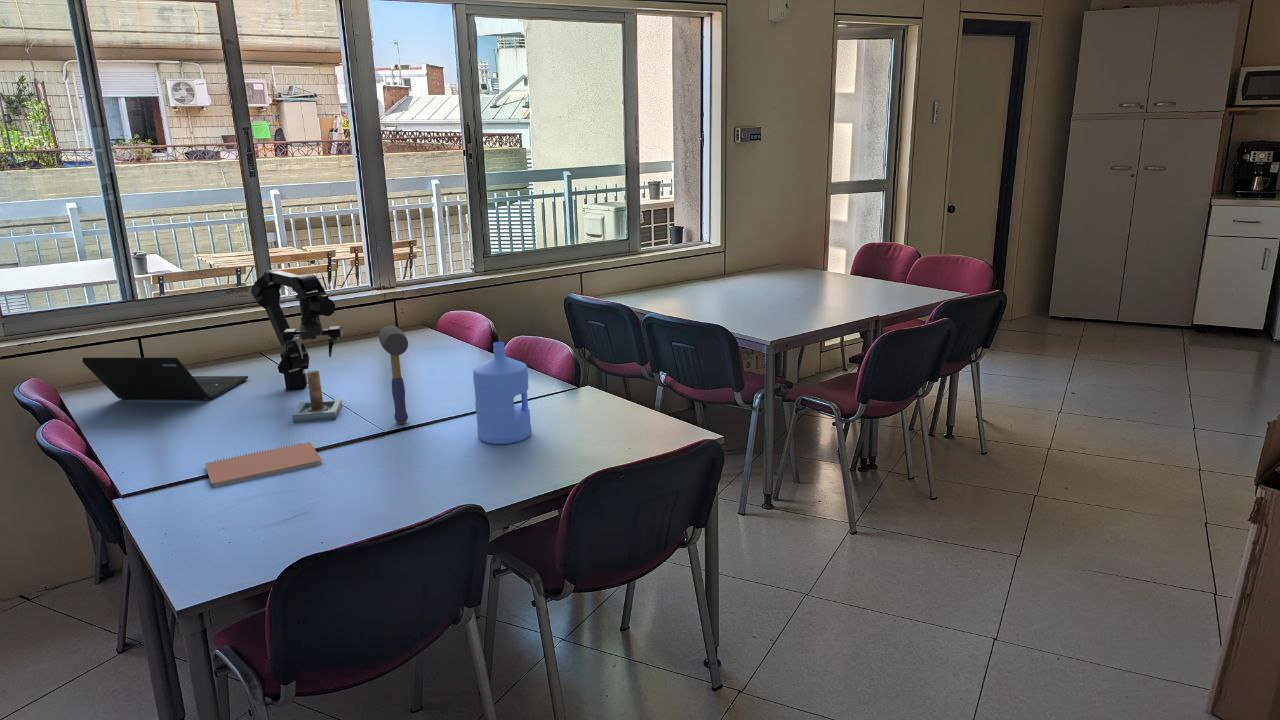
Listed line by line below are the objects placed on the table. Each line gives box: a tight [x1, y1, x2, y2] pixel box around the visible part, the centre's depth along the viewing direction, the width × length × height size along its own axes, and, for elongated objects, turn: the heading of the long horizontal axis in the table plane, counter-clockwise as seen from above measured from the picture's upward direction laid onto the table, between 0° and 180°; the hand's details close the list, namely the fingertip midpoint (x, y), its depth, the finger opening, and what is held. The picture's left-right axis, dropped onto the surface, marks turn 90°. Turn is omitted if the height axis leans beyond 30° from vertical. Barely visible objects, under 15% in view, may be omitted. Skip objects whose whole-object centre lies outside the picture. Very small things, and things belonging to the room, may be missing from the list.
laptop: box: [82, 357, 249, 401], centre depth 286 cm, size 33×38×19 cm
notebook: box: [204, 441, 323, 488], centre depth 228 cm, size 27×17×2 cm, turn 122°
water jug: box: [472, 341, 532, 445], centre depth 242 cm, size 16×16×28 cm
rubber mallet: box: [378, 324, 409, 425], centre depth 254 cm, size 12×8×30 cm, turn 25°
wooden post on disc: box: [306, 370, 328, 412], centre depth 265 cm, size 6×6×13 cm
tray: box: [292, 398, 343, 424], centre depth 267 cm, size 13×13×2 cm
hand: (316, 357), depth 283 cm, fingers open, 9 cm apart
